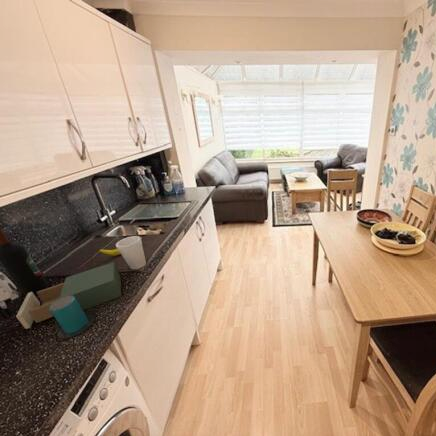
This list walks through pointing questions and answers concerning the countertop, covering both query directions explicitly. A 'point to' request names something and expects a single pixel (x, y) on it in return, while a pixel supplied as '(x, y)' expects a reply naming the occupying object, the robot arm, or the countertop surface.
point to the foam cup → (132, 251)
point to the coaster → (63, 335)
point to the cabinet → (93, 286)
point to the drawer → (32, 309)
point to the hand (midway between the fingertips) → (9, 316)
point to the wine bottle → (21, 266)
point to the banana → (111, 251)
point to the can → (68, 314)
